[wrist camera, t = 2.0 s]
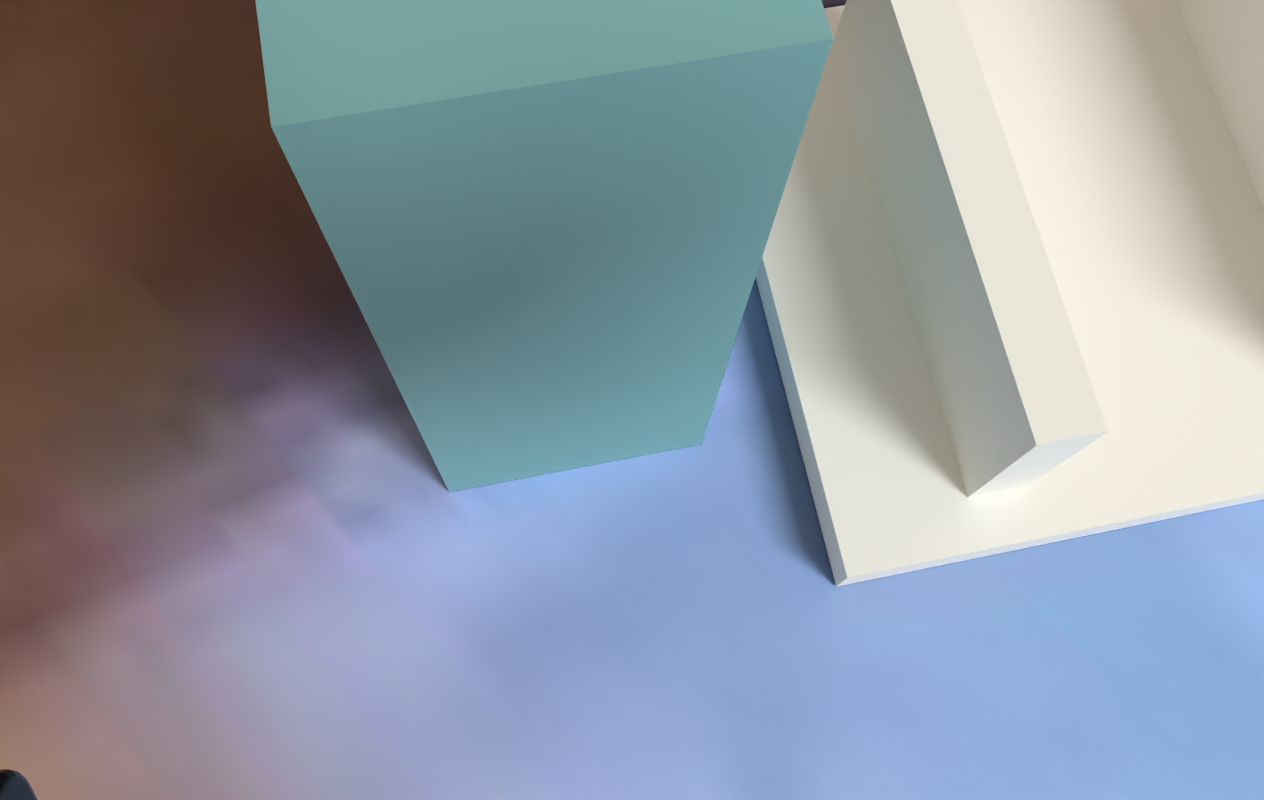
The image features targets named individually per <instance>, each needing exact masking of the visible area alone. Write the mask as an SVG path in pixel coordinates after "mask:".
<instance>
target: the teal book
mask: <svg viewBox="0 0 1264 800" xmlns="http://www.w3.org/2000/svg"><path fill="white" fill-rule="evenodd" d="M255 1H256V9H257V17H258V25H259V33H260V41H261V49H262V57H263V65H264V73H265V82H266V90H267V98H268V106H269V114H270V122H271V128H272V130H273V132H274V134H275V136H276V138H277V140H278V142H279V144H280V146H281V148H282V150H283V152H284V154H285V157H286V159H287V161H288V163H289V165H290V167H291V169H292V171H293V173H294V175H295V177H296V179H297V181H298V183H299V185H300V187H301V189H302V191H303V193H304V195H305V198H306V200H307V202H308V204H309V206H310V208H311V210H312V212H313V214H314V216H315V218H316V220H317V222H318V224H319V226H320V228H321V230H322V232H323V234H324V237H325V239H326V241H327V243H328V245H329V247H330V249H331V251H332V253H333V255H334V257H335V259H336V261H337V263H338V265H339V267H340V269H341V271H342V273H343V276H344V278H345V280H346V282H347V284H348V286H349V288H350V290H351V292H352V294H353V296H354V298H355V300H356V302H357V304H358V306H359V308H360V310H361V312H362V314H363V317H364V319H365V321H366V323H367V325H368V327H369V329H370V331H371V333H372V335H373V337H374V339H375V341H376V343H377V345H378V347H379V349H380V351H381V353H382V356H383V358H384V360H385V362H386V364H387V366H388V368H389V370H390V372H391V374H392V376H393V378H394V380H395V382H396V384H397V386H398V388H399V390H400V392H401V395H402V397H403V399H404V401H405V403H406V405H407V407H408V409H409V411H410V413H411V415H412V417H413V419H414V421H415V423H416V425H417V427H418V429H419V431H420V433H421V436H422V438H423V440H424V442H425V444H426V446H427V448H428V450H429V452H430V454H431V456H432V458H433V460H434V462H435V464H436V466H437V468H438V470H439V472H440V475H441V477H442V479H443V481H444V483H445V485H446V487H447V489H448V491H449V492H453V491H458V490H463V489H469V488H474V487H479V486H485V485H490V484H495V483H500V482H506V481H511V480H516V479H521V478H527V477H532V476H537V475H542V474H548V473H553V472H558V471H563V470H569V469H574V468H579V467H585V466H590V465H595V464H600V463H606V462H611V461H616V460H621V459H627V458H632V457H637V456H642V455H648V454H653V453H658V452H663V451H669V450H674V449H679V448H685V447H690V446H695V445H700V444H702V440H703V437H704V434H705V431H706V428H707V425H708V422H709V419H710V416H711V413H712V410H713V407H714V404H715V401H716V397H717V394H718V391H719V388H720V385H721V382H722V379H723V376H724V373H725V370H726V367H727V364H728V361H729V357H730V354H731V351H732V348H733V345H734V342H735V339H736V336H737V333H738V330H739V327H740V324H741V321H742V318H743V314H744V311H745V308H746V305H747V302H748V299H749V296H750V293H751V290H752V287H753V284H754V281H755V278H756V275H757V271H758V268H759V265H760V262H761V259H762V256H763V253H764V250H765V247H766V244H767V241H768V238H769V235H770V231H771V228H772V225H773V222H774V219H775V216H776V213H777V210H778V207H779V204H780V201H781V198H782V195H783V192H784V188H785V185H786V182H787V179H788V176H789V173H790V170H791V167H792V164H793V161H794V158H795V155H796V152H797V149H798V145H799V142H800V139H801V136H802V133H803V130H804V127H805V124H806V121H807V118H808V115H809V112H810V109H811V106H812V102H813V99H814V96H815V93H816V90H817V87H818V84H819V81H820V78H821V75H822V72H823V69H824V66H825V62H826V59H827V56H828V53H829V50H830V47H831V44H832V41H833V36H832V33H831V30H830V27H829V23H828V20H827V17H826V13H825V10H824V7H823V4H822V0H255Z"/></svg>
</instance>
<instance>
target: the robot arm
mask: <svg viewBox="0 0 1264 800" xmlns="http://www.w3.org/2000/svg"><path fill="white" fill-rule="evenodd" d="M0 800H37V798H36V796H35V794H34V792H33V790H32V788H31V786H30V784H29V783H28V781H27V780H26V778H25V777H24V776H22V775H21V774H20V773H19V772H16V771H13V770H0Z"/></svg>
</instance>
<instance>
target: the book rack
mask: <svg viewBox="0 0 1264 800" xmlns="http://www.w3.org/2000/svg"><path fill="white" fill-rule="evenodd" d="M824 10H825V13H826V17H827V20H828V23H829V27H830V30H831V33H832V36H833V41H832V44H831V47H830V50H829V53H828V56H827V59H826V62H825V66H824V69H823V72H822V75H821V78H820V81H819V84H818V87H817V90H816V93H815V96H814V99H813V102H812V106H811V109H810V112H809V115H808V118H807V121H806V124H805V127H804V130H803V133H802V136H801V139H800V142H799V145H798V149H797V152H796V155H795V158H794V161H793V164H792V167H791V170H790V173H789V176H788V179H787V182H786V185H785V188H784V192H783V195H782V198H781V201H780V204H779V207H778V210H777V213H776V216H775V219H774V222H773V225H772V228H771V231H770V235H769V238H768V241H767V244H766V247H765V250H764V253H763V256H762V259H761V262H760V265H759V268H758V271H757V275H756V281H757V285H758V289H759V293H760V296H761V300H762V304H763V308H764V312H765V316H766V319H767V323H768V327H769V331H770V335H771V339H772V342H773V346H774V350H775V354H776V358H777V361H778V365H779V369H780V373H781V377H782V381H783V384H784V388H785V392H786V396H787V400H788V404H789V407H790V411H791V415H792V419H793V423H794V427H795V430H796V434H797V438H798V442H799V446H800V450H801V453H802V457H803V461H804V465H805V469H806V473H807V476H808V480H809V484H810V488H811V492H812V496H813V499H814V503H815V507H816V511H817V515H818V518H819V522H820V526H821V530H822V534H823V538H824V541H825V545H826V549H827V553H828V557H829V561H830V564H831V568H832V572H833V576H834V580H835V584H836V587H837V586H842V585H847V584H852V583H857V582H861V581H866V580H871V579H876V578H881V577H886V576H891V575H896V574H901V573H905V572H910V571H915V570H920V569H925V568H930V567H935V566H940V565H945V564H949V563H954V562H959V561H964V560H969V559H974V558H979V557H984V556H989V555H993V554H998V553H1003V552H1008V551H1013V550H1018V549H1023V548H1028V547H1032V546H1037V545H1042V544H1047V543H1052V542H1057V541H1062V540H1067V539H1072V538H1076V537H1081V536H1086V535H1091V534H1096V533H1101V532H1106V531H1111V530H1116V529H1120V528H1125V527H1130V526H1135V525H1140V524H1145V523H1150V522H1155V521H1160V520H1164V519H1169V518H1174V517H1179V516H1184V515H1189V514H1194V513H1199V512H1204V511H1208V510H1213V509H1218V508H1223V507H1228V506H1233V505H1238V504H1243V503H1248V502H1252V501H1257V500H1262V499H1264V0H846V3H845V5H844V6H837V7H831V8H824Z"/></svg>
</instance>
